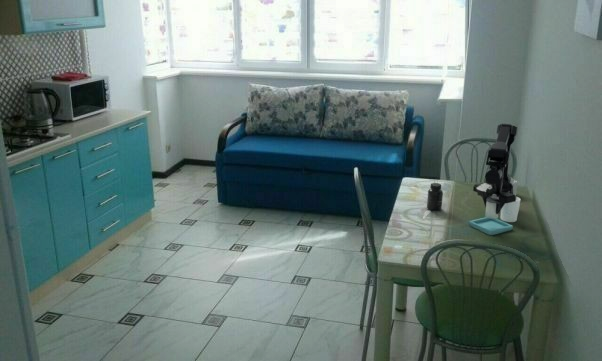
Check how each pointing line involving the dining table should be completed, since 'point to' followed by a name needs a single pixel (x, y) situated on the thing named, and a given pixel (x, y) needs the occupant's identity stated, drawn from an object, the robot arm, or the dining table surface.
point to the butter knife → (426, 214)
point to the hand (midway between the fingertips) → (492, 211)
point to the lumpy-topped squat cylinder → (514, 184)
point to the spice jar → (491, 207)
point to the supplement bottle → (435, 197)
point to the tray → (490, 225)
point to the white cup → (510, 211)
